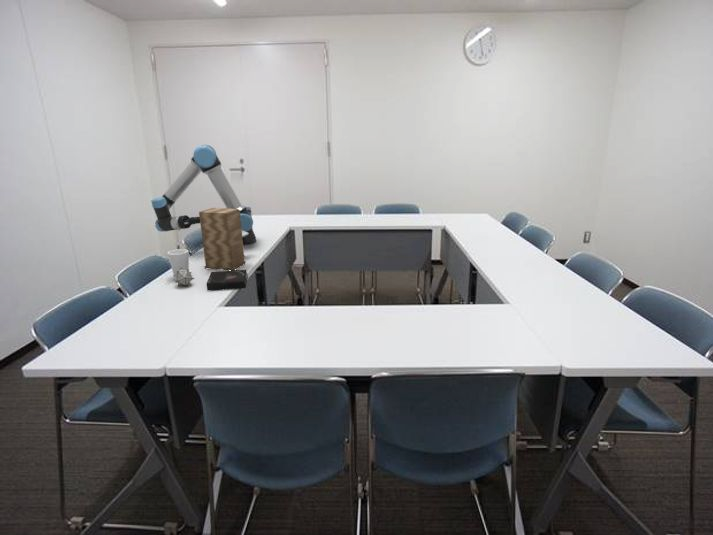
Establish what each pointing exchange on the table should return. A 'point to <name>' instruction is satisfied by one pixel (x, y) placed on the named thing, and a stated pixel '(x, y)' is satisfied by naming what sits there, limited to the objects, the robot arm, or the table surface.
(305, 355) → the table surface
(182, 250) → the foam cup
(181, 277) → the grey spiky ball
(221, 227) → the brown patterned box
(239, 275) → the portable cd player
